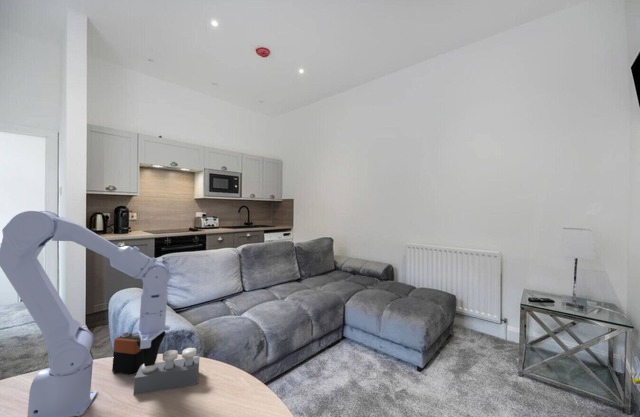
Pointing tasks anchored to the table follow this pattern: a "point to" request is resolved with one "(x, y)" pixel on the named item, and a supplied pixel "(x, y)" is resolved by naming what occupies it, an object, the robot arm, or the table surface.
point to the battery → (127, 354)
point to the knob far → (189, 356)
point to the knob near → (149, 368)
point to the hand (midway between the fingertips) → (149, 364)
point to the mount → (167, 377)
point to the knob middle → (170, 358)
